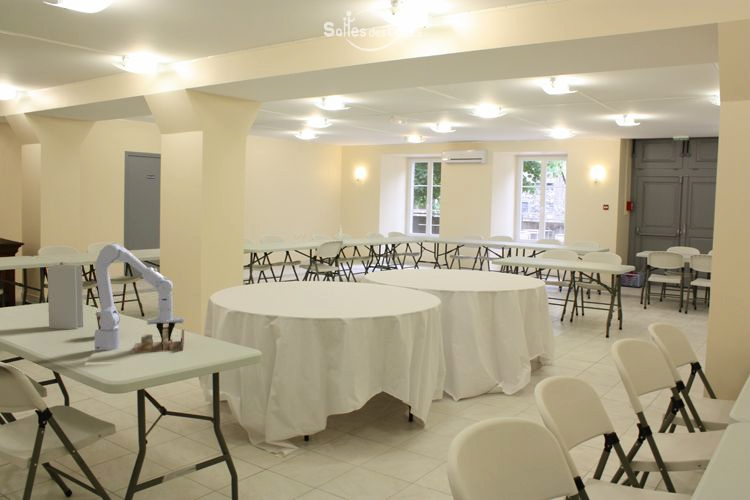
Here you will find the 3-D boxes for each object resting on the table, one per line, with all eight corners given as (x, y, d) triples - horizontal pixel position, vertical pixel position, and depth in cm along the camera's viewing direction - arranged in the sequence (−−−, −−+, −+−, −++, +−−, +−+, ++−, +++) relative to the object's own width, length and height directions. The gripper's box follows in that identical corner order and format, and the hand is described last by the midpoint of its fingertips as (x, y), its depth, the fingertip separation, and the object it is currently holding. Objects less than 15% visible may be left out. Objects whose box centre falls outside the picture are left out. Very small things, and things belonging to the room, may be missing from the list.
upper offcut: (141, 343, 258) (141, 337, 258) (142, 340, 263) (142, 334, 263) (151, 342, 259) (151, 336, 259) (152, 340, 264) (152, 334, 264)
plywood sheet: (162, 349, 259) (162, 330, 258) (164, 343, 268) (164, 325, 268) (168, 349, 259) (167, 329, 259) (169, 343, 269) (169, 325, 268)
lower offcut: (141, 349, 258) (141, 343, 258) (142, 345, 265) (142, 339, 264) (151, 349, 259) (151, 343, 259) (152, 345, 266) (152, 339, 265)
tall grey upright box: (83, 326, 307) (82, 265, 305) (77, 329, 301) (75, 266, 299) (56, 325, 308) (54, 264, 306) (49, 328, 303) (47, 266, 300)
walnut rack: (130, 355, 252) (130, 340, 251) (135, 345, 269) (135, 331, 269) (182, 352, 257) (182, 338, 257) (184, 343, 274) (184, 329, 274)
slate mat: (148, 344, 272) (148, 343, 272) (150, 337, 284) (150, 336, 284) (177, 342, 275) (177, 341, 275) (178, 336, 287) (178, 335, 287)
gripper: (146, 310, 257) (146, 343, 258) (183, 309, 261) (183, 342, 262) (147, 308, 264) (148, 340, 265) (183, 306, 267) (184, 338, 268)
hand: (166, 340), depth 264 cm, fingers closed on plywood sheet, 2 cm apart
